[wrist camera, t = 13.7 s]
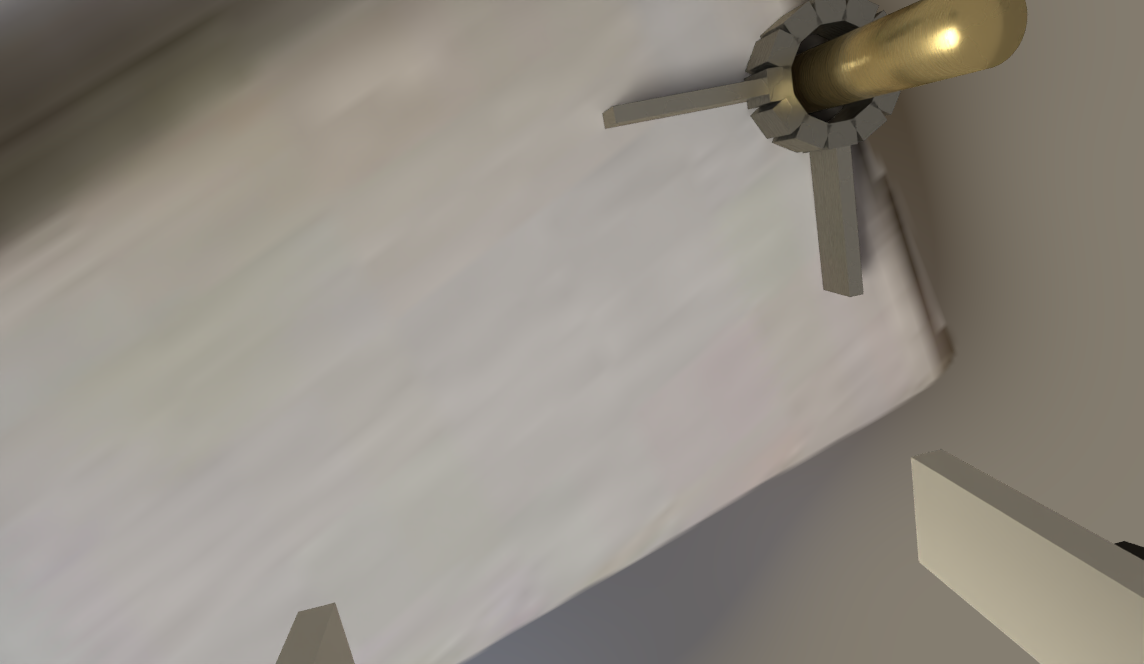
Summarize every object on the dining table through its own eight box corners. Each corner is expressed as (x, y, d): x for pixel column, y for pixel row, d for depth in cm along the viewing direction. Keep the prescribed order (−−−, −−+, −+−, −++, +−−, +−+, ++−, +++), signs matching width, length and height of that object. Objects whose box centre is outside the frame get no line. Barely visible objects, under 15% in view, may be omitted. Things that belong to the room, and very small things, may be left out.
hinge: (591, 48, 42) (601, 35, 38) (866, -1, 44) (898, -18, 40) (639, 330, 46) (652, 341, 43) (887, 275, 48) (918, 281, 45)
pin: (778, 56, 44) (943, -20, 28) (833, 46, 44) (1026, -35, 28) (785, 117, 44) (948, 76, 29) (839, 107, 45) (1028, 60, 29)
